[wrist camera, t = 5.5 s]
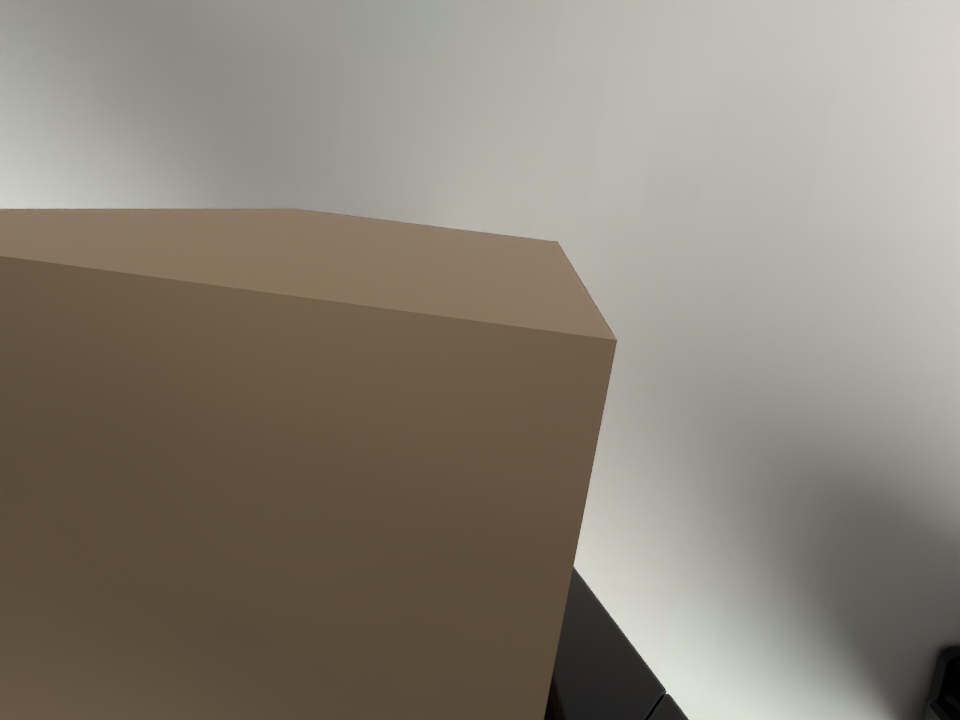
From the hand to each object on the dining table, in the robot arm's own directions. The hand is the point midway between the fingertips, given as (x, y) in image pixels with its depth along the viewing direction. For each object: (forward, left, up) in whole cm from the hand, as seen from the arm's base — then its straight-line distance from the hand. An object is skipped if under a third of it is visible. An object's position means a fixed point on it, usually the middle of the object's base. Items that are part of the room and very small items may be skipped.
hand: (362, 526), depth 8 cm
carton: (0, 0, -2) cm, 2 cm away
